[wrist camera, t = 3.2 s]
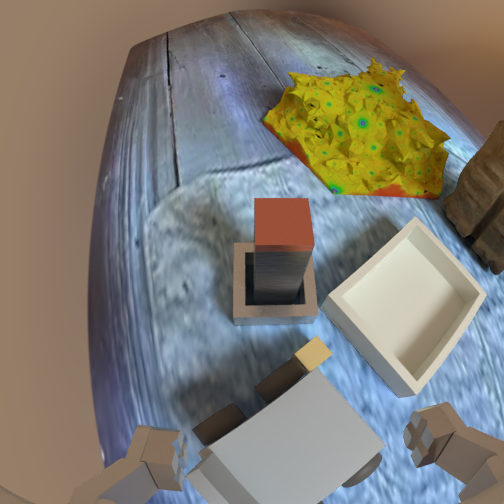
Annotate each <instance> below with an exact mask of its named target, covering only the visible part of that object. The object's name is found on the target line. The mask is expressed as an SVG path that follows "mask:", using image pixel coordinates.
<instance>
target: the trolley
mask: <svg viewBox="0 0 504 504" xmlns="http://www.w3.org/2000/svg"><path fill="white" fill-rule="evenodd" d="M306 373H307V371H306V370H305V369H304V367H303V366H302V365H301V364H300V363H299V362H298V360H297V359H296V358H295V357H293V358H292V359H290V360H289V361H287V362H286V363H285V364H283V365H282V366H281V367H279V368H278V369H277V370H276V371H274V372H273V373H272V374H270V375H269V376H268V377H267V378H265V379H264V380H263V381H262V382H260V383H259V384H258V385H257V386H256V387H255V389H256V390H257V392H258V393H259V394H260V395H261V396H262V398H263V399H264V400H265V401H266V402H267V403H268V402H270V401H271V400H273V399H274V398H276V397H277V396H278V395H280V394H281V393H282V392H284V391H285V390H286V389H287V388H289V387H290V386H291V385H293V384H294V383H295V382H296V381H297V380H299V379H300V378H301V377H302V376H303V375H305V374H306ZM245 419H246V417H245V416H244V415H243V413H242V412H241V411H240V410H239V408H238V407H237V406H236V405H235V403H232V404H230V405H228V406H227V407H225V408H224V409H222V410H220V411H219V412H217V413H216V414H214V415H213V416H211V417H210V418H208V419H207V420H205V421H204V422H202V423H201V424H199V425H198V426H196V427H195V428H194V429H192V431H193V432H194V433H195V434H196V436H197V437H198V438H199V440H200V441H201V442H202V443H203V445H204V446H206V445H208V444H209V443H211V442H213V441H214V440H216V439H217V438H219V437H221V436H222V435H224V434H225V433H227V432H228V431H230V430H231V429H232V428H234V427H235V426H237V425H238V424H240V423H241V422H242V421H244V420H245ZM384 446H385V443H384V442H383V441H382V440H381V439H380V438H379V437H378V436H377V435H376V433H375V432H374V431H373V430H372V429H371V428H370V427H369V426H368V425H367V423H366V422H365V421H364V420H363V419H362V418H361V417H360V416H359V414H358V413H357V412H356V411H355V410H354V409H353V408H352V407H351V405H350V404H349V403H348V402H347V401H346V400H345V399H344V398H343V396H342V395H341V394H340V393H339V392H338V391H337V390H336V388H335V387H334V386H333V385H332V384H331V383H330V382H329V380H328V379H327V378H326V377H325V376H324V375H323V374H322V372H321V371H320V370H319V369H318V368H317V367H316V368H315V369H313V370H312V371H310V372H309V373H308V374H307V375H305V376H304V377H303V378H302V379H300V380H299V381H298V382H297V383H295V384H294V385H293V386H292V387H290V388H289V389H288V390H287V391H285V392H284V393H283V394H281V395H280V396H279V397H278V398H276V399H275V400H274V401H272V402H271V403H270V404H268V405H267V406H266V407H264V408H263V409H261V410H260V411H259V412H257V413H256V414H255V415H253V416H252V417H250V418H249V419H248V420H246V421H245V422H243V423H242V424H240V425H239V426H237V427H236V428H235V429H233V430H232V431H230V432H229V433H227V434H226V435H224V436H223V437H221V438H219V439H218V440H216V441H215V442H213V443H212V444H210V445H209V446H207V447H205V448H204V449H202V450H201V451H200V452H199V453H198V454H199V455H200V456H201V458H202V460H201V461H200V462H199V463H198V464H197V465H196V466H195V467H194V468H193V469H192V470H191V471H190V472H189V473H188V474H187V475H186V476H185V477H186V478H187V479H188V480H189V482H190V483H191V484H192V485H193V486H194V487H195V489H196V490H197V491H198V492H199V493H200V494H201V496H202V497H203V498H204V499H205V500H206V501H207V502H208V503H209V504H324V503H323V501H322V500H323V499H324V498H325V497H327V496H328V495H329V494H331V493H332V492H333V491H334V490H336V489H337V488H338V487H340V486H341V485H342V486H343V487H351V486H354V485H356V484H358V483H360V482H362V481H363V480H365V479H366V478H367V477H368V476H370V475H371V474H372V473H373V472H374V471H375V470H376V468H377V467H378V466H379V464H380V462H381V460H382V455H381V454H380V453H379V451H380V450H381V449H382V448H383V447H384Z"/></svg>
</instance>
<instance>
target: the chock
mask: <svg viewBox="0 0 504 504" xmlns="http://www.w3.org/2000/svg"><path fill="white" fill-rule="evenodd" d="M332 354H333V353H332V352H331V351H330V350H329V349H328V348H327V347H326V345H325V344H324V343H323V342H322V341H321V340H320V339H319V337H318V336H316V337H314V338H313V339H312V340H311V341H310V342H308V343H307V344H306V345H305V346H304V347H302V348H301V349H300V350H299V351H297V352H296V353H295V354H294V355H293V356H292V358H293V357H295V358H296V359H297V360H298V362H299V363H300V364H301V365H302V366H303V367H304V369H305V370H306V371H307V373H306V374H305V375H307V374H308V373H309V372H310V371H312V370H313V369H315V368H316V367H318V366H319V365H320V364H321V363H322V362H324V361H325V360H326V359H327V358H328V357H329V356H330V355H332ZM292 358H291V359H292Z"/></svg>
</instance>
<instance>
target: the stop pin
mask: <svg viewBox="0 0 504 504" xmlns="http://www.w3.org/2000/svg"><path fill="white" fill-rule="evenodd" d="M314 245H315V243H314V236H313V229H312V222H311V215H310V208H309V201H308V198H254V266H253V277H254V306H263V305H293V303H294V301H295V298H296V295H297V293H298V290H299V287H300V285H301V282H302V279H303V276H304V274H305V271H306V268H307V265H308V262H309V259H310V257H311V254H312V251H313V248H314Z"/></svg>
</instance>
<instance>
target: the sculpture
mask: <svg viewBox="0 0 504 504" xmlns="http://www.w3.org/2000/svg"><path fill="white" fill-rule="evenodd" d="M442 208H443V209H444V211H445V212H446V217H447V218H448V219H449V220H450V221H451V222H452V223H453V224H454V225H455V228H456V230H457V231H458V233H459V234H460V235H461V236H462V237H463V238H464V237H466V236H469V235H471V236H472V237H474V240H475V241H474V243H473V244H472V246H471V248H472V249H473V250H474V251H475V253H476V254H477V255H479V256H480V257H481V259H482V261H483V262H484V264H488V265H489V267H490V270H491V272H492V273H493V274H494V275H498V274H500V273H501V272H502V271H503V270H504V121H499V122H498V124H497V125H496V127H495V128H494V130H493V132H492V134H491V135H490V137H489V138H488V140H487V141H486V142H485V144H484V145H483V146H482V147H481V149H480V150H479V151H478V152H477V153H476V154H475V155H474V156H473V157H472V158H471V159H470V160H469V162H468V163H467V165H466V166H465V167H464V169H463V170H462V172H461V174H460V176H459V179H458V184H457V188H456V190H455V192H454V193H452V194H451V195H449V196H447V197H446V198H445V199H444V200H443V203H442Z"/></svg>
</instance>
